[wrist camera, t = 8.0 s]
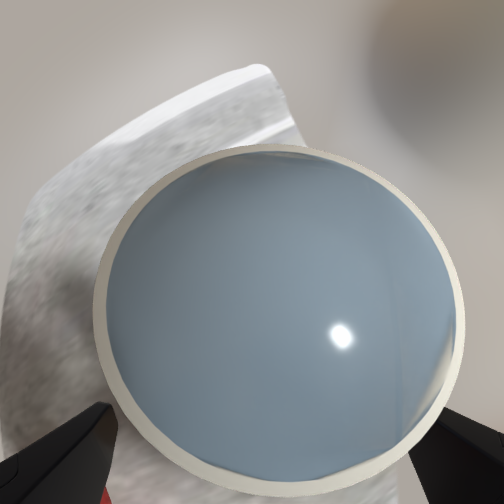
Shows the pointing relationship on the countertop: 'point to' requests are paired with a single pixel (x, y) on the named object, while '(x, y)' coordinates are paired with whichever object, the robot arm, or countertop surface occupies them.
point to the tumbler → (278, 320)
